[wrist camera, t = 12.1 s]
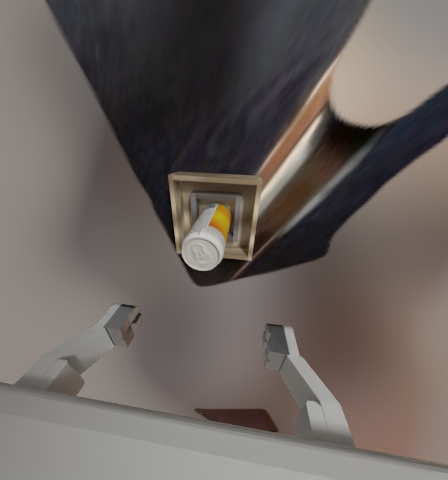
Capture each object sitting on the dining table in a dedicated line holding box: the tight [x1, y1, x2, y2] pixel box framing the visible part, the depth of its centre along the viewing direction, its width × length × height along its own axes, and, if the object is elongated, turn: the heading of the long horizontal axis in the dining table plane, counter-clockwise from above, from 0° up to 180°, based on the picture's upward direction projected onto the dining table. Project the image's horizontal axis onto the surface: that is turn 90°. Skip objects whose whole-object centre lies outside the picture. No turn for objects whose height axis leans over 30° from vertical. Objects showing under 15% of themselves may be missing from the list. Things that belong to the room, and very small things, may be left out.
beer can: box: [181, 203, 231, 271], centre depth 29 cm, size 6×6×15 cm
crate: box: [168, 171, 263, 261], centre depth 34 cm, size 16×16×5 cm
